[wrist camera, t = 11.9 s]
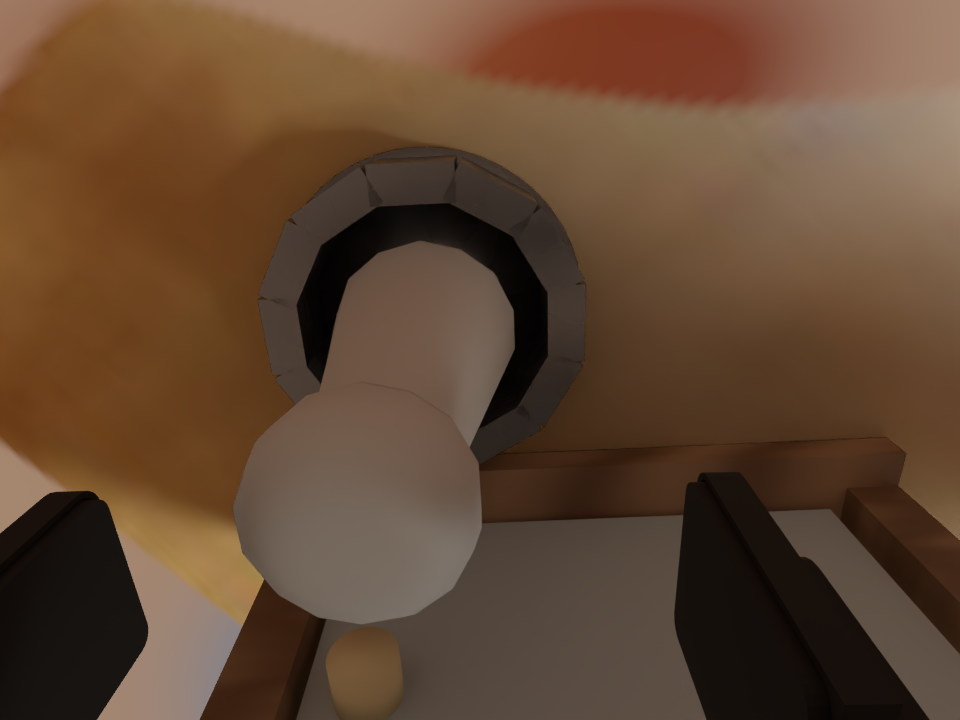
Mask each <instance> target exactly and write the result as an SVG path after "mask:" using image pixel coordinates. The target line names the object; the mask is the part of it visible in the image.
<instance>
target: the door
mask: <svg viewBox="0 0 960 720" xmlns="http://www.w3.org/2000/svg"><path fill="white" fill-rule="evenodd" d="M769 513H770V515H771V516H772V518H773V519H774V521H775V522H776V523H777V525H778V526H779V528H780V529H781V530H782V532H783V533H784V535H785V536H786V538H787V539H788V540H789V542H790V543H791V545H792V546H793V548H794V549H795V550H796V552H797V553H798V555H799V556H800V557H807V558H809V559H811V560H812V561H813V562H814V563H815V564H816V565H817V566H818V567H819V568H820V570H821V571H822V572H823V574H824V575H825V576H826V578H827V579H828V580H829V582H830V583H831V585H832V586H833V587H834V589H835V590H836V591H837V593H838V594H839V596H840V597H841V598H842V600H843V601H844V602H845V604H846V605H847V607H848V608H849V609H850V611H851V612H852V613H853V615H854V616H855V618H856V619H857V620H858V622H859V623H860V624H861V626H862V627H863V629H864V630H865V631H866V633H867V634H868V635H869V637H870V638H871V640H872V641H873V642H874V644H875V645H876V646H877V648H878V649H879V651H880V652H881V653H882V655H883V656H884V657H885V659H886V660H887V662H888V663H889V664H890V666H891V667H892V668H893V670H894V671H895V673H896V674H897V675H898V677H899V678H900V679H901V681H902V682H903V684H904V685H905V686H906V688H907V689H908V690H909V692H910V693H911V694H912V696H913V697H914V699H915V700H916V701H917V703H918V704H919V705H920V707H921V708H922V710H923V711H924V712H925V714H926V715H927V716H928V718H929V719H930V720H960V654H959V653H958V652H957V651H956V650H955V648H954V647H953V646H952V645H951V644H950V643H949V642H948V641H947V640H946V638H945V637H944V636H943V635H942V634H941V633H940V632H939V631H938V629H937V628H936V627H935V626H934V625H933V624H932V623H931V622H930V620H929V619H928V618H927V617H926V616H925V615H924V614H923V613H922V611H921V610H920V609H919V608H918V607H917V606H916V605H915V604H914V603H913V601H912V600H911V599H910V598H909V597H908V596H907V595H906V594H905V592H904V591H903V590H902V589H901V588H900V587H899V586H898V585H897V583H896V582H895V581H894V580H893V579H892V578H891V577H890V576H889V574H888V573H887V572H886V571H885V570H884V569H883V568H882V567H881V566H880V564H879V563H878V562H877V561H876V560H875V559H874V558H873V557H872V555H871V554H870V553H869V552H868V551H867V550H866V549H865V548H864V546H863V545H862V544H861V543H860V542H859V541H858V540H857V539H856V537H855V536H854V535H853V534H852V533H851V532H850V531H849V530H848V529H847V527H846V526H845V525H844V524H843V523H842V522H841V521H840V520H839V518H838V517H837V516H836V515H835V514H834V513H833V512H832V511H831V509H819V510H795V511H770V512H769ZM682 524H683V515H673V516H649V517H625V518H600V519H576V520H552V521H527V522H503V523H482V529H481V532H480V534H479V537H478V540H477V543H476V546H475V549H474V551H473V553H472V555H471V557H470V559H469V560H468V562H467V564H466V566H465V568H464V570H463V571H462V573H461V575H460V577H459V579H458V580H457V582H456V584H455V586H454V588H453V589H452V590H450V591H449V592H447V593H446V594H444V595H443V596H442V597H440V598H439V599H437V600H436V601H434V602H433V603H431V604H430V605H428V606H427V607H425V608H424V609H423V610H421V611H420V612H418V613H417V614H415V615H410V616H406V617H401V618H395V619H389V620H384V621H378V622H372V623H366V624H356V623H350V622H344V621H338V620H331V619H326V622H325V626H324V629H323V632H322V635H321V639H320V642H319V645H318V649H317V652H316V655H315V659H314V662H313V665H312V669H311V672H310V675H309V679H308V682H307V685H306V689H305V692H304V695H303V698H302V702H301V705H300V708H299V712H298V715H297V718H296V720H706V717H705V714H704V711H703V709H702V706H701V703H700V700H699V697H698V694H697V692H696V689H695V686H694V683H693V680H692V678H691V675H690V672H689V669H688V666H687V664H686V661H685V658H684V655H683V652H682V650H681V647H680V644H679V641H678V638H677V634H676V630H675V623H674V609H675V599H676V588H677V577H678V567H679V556H680V545H681V535H682Z"/></svg>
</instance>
